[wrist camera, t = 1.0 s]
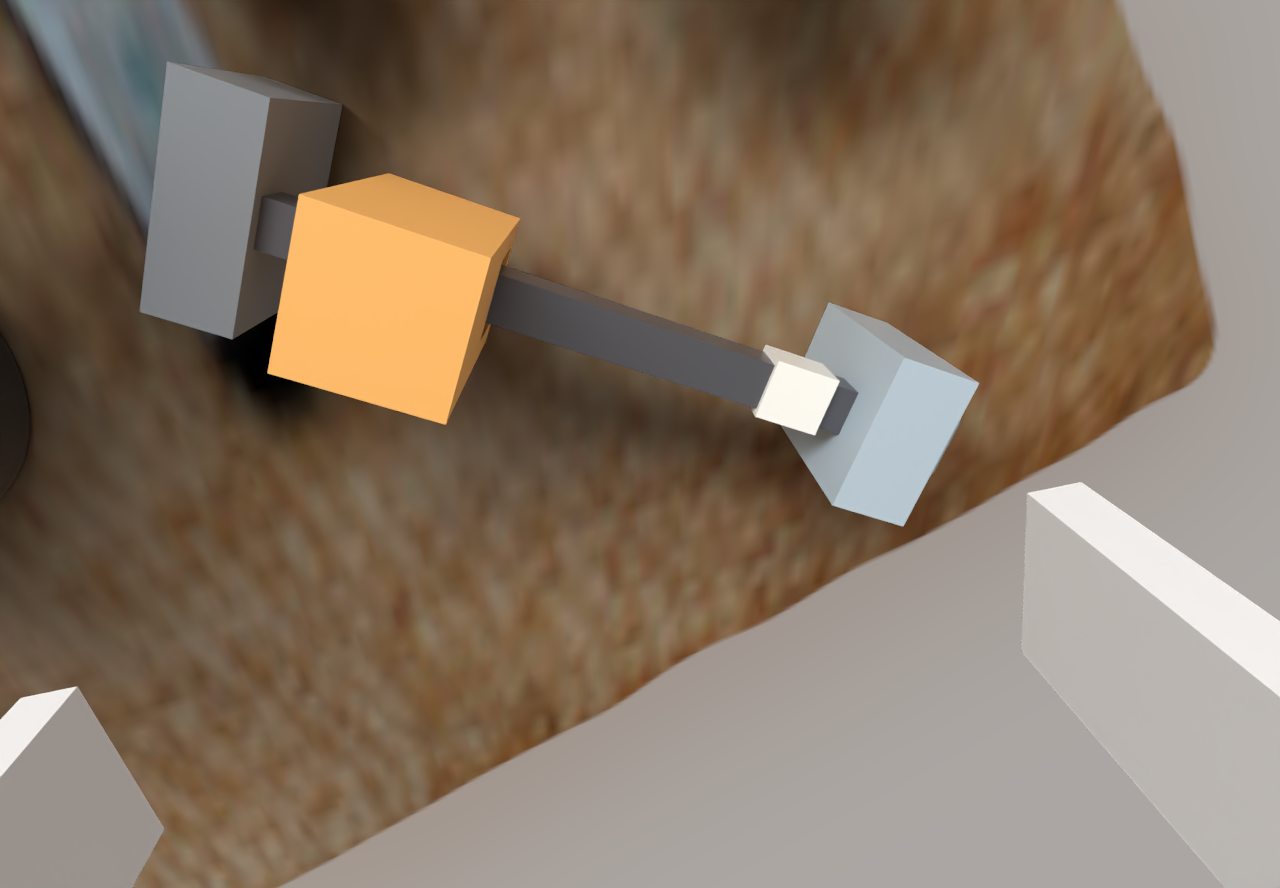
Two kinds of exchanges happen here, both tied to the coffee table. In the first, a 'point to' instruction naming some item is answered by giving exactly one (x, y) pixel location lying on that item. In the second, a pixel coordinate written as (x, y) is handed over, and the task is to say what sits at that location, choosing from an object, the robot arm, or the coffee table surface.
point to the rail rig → (527, 297)
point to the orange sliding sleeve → (389, 293)
